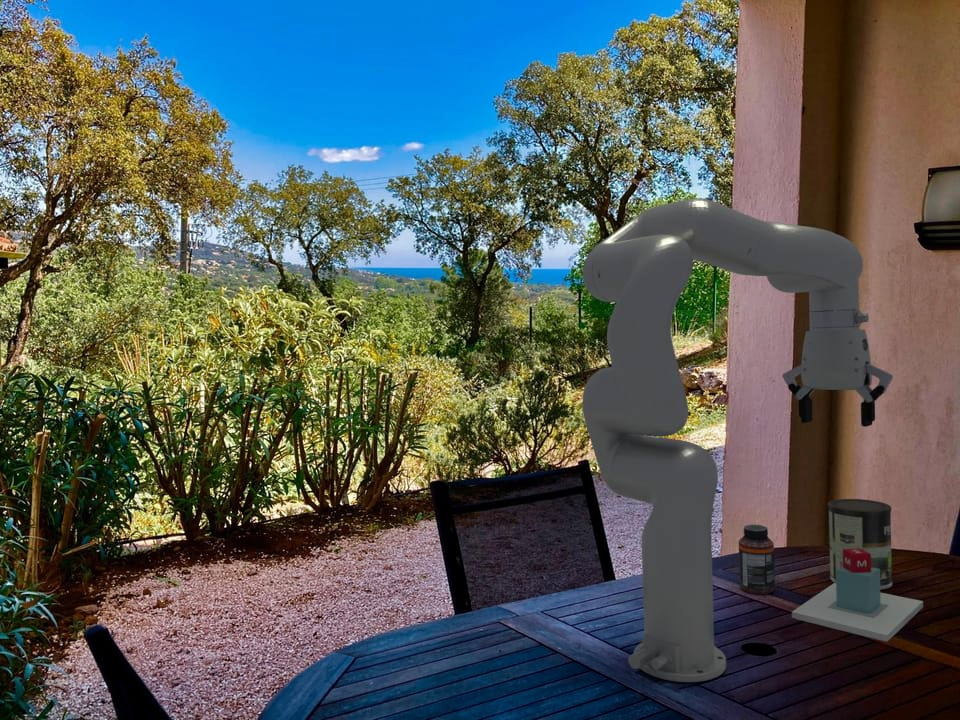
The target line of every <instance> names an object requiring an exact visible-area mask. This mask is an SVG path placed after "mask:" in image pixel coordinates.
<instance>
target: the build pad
mask: <svg viewBox="0 0 960 720" xmlns="http://www.w3.org/2000/svg"><path fill="white" fill-rule="evenodd" d="M880 601H881V605H880V606H879V607H878V608H877V609H876V610H874V611H873V612H872V613H871V614H866V613H862V612H858V611H854V610H849V609H845V608H841V607H837V598H836V583H835V582H833V583H832V584H831V585H829V586H828V587H826V588H825V589H823V590H822V591H820V592H819V593H817V594H816V595H814V596H813V597H812V598H810V599H809V600H807V601H805V602H804V603H803V604H801V605H800V606H798V607H797V608H795V609H794V610H792V611H791V618H792V619H794V618H795V619H794V620H797V621H803V622H807V623H811V624H814V625H819V626H823V627H826V628H831V629H833V630H837V631H843V632H847V633H850V634H853V635H859V636H863V637H866V638H870V639H874V640H878V641H882V642H887V643H888V642H889V640H891V639H892V637H894V636H895V635H896V634H897V633H898V632H899V631H900V630H902V628H903V627H904V626H905V625H907V624H908V623H909V621H911V619H913V618H914V617H915V616H916V615H917V614H918V613H919V612H920V611H922V609H923V608H924V601H923V600H919V599H914V598H910V597H903V596H898V595H893V594H889V593H885V592H884V593H883V592H880Z"/></svg>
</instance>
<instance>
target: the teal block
mask: <svg viewBox="0 0 960 720" xmlns="http://www.w3.org/2000/svg"><path fill="white" fill-rule="evenodd" d="M880 593H881V590H880V569H878V568H872V567H871V572H864V573H852V572H850V571H849V570H847V569H845V568H844V567H843V566H842V567H840V568H839V569H837V570H836V598H837V607H841V608H845V609H849V610H854V611H858V612H862V613H866V614H871V613H872V612H873V611H874V610H876V609H877V608H878V607H879V606H880V605H881V601H880Z"/></svg>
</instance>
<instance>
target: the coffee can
mask: <svg viewBox="0 0 960 720" xmlns="http://www.w3.org/2000/svg"><path fill="white" fill-rule="evenodd" d="M827 507H828V525H829V529H828V530H829V531H828V532H829V533H828V534H829V566H830V568H829V569H830V570H829V571H830V572H829V573H830V575H829V579H830V580H831V581H832V582H833V583H836V570H837V569H839V568H840V567H842V566H843V549H859V548H860V549H862V550H864V551H866V552H868V553H870V554H871V567H872V568H878V569H880V591H883V590H886V589H887V590H888V589H889V588H892V586H893V575H892V567H893V566H892V526H891V525H892V521H891V514H892V513H891V512H892V506H891V505H890V504H887V503H885V502H882V501H876V500H871V499H861V498H841V499H840V498H839V499H833V500H829V501H828V503H827Z"/></svg>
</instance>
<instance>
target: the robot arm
mask: <svg viewBox="0 0 960 720" xmlns="http://www.w3.org/2000/svg"><path fill="white" fill-rule="evenodd" d="M693 260H695V261H698V262H701V263H704V264H706V265H707V264H708V265H711V266H714V267H716V268H719V269H723V270H725V271H729V272H730V273H734V274H738V275H743V276H752V277H753V276H754V277H766V278H767V281H768V282H769V284H770V285H771V287H773V289H776V290H777V291H779V292H783V293H786V294H787V293H788V294H795V293H798V294H799V293H807V292H808V297H809V299H808V300H809V303H808V306H809V312H808V313H809V330H807V331H805V336H804V341H803V345H802V346H803V347H802V354H801V355H802V356H801V364H800V365H798V366H795V367H793V368H792V369H790V370H788V371H786V372H784V373H783V374H782V378H783V380H784V382H785V384H786V385H787V388H788V390H789V392H791V393H792V394H793V395H794V396H795V398H796V400H798V417H799V418H800V422H801V424H807V423H811V422H813V399H812V398H810V396H811V394H812V393H813V392H814V391H815V390H828V391H829V390H831V391H833V390H834V391H835V390H836V391H856V392H857V394H858V395H859V396H860V397H861V398H862V399H863V401H862V402H860V424H861V426H862V427H867V428H868V427H870V426H872V425H873V422H875V420H876V401H878V399H879V398H881V396H882V395H883V394H884V393H886V392H887V389H888V387H889V386H890V383H891V382H892V380H893V378H894V375H893V374H891V373H889V372H887V371H885V370H883V369H882V368H879V367H877V366H875V365H872V360H871V353H870V352H871V351H870V345H869V339H868V336H867V332H866V329H860V327H861V325H862V324H863V323H868V322H869V319H870V317H869V314H868V313H862V312H861V309H860V300H859V299H860V291H859V290H860V287H859V286H860V285H859V279H860V278H861V275H862V272H863V267H864V261H863V258H862V254H861V252H860V250H859V248H858V247H857V246H856V245H855V244H854V243H853V242H852V241H851V240H849V239H848V238H846V237H844V236H842V235H840V234H837V233H835V232H832V231H830V230H827V229H826V230H825V229H822V228H817V227H812V226H805V225H804V226H803V225H797V224H789V223H783V222H775V221H770V220H768V221H767V220H761V219H759V218H755V217H752V216H750V215H747V214H745V213H743V212H740V211H737V210H735V209H733V208H731V207H728V206H725V205H723V204H721V203H718V202H716V201H713V200H711V199H707V198H700V197H697V198H695V197H694V198H688V199H683V200H678V201H674V202H669V203H666V204H661V205H656V206H653V207H650V208H648V209H646V210H645V211H642V212H641V213H639V214H638V215H636V216H635V217H634V218H632V219H631V220H629V221H628V222H627V223H625V224H624V225H622V226H621V227H620V228H618V230H616V231H614V232H613V233H612V234H611V235H609V236H608V237H606V238H605V239H604V240H602V241H601V242H599V243H598V244H597V245H596V246H595V247H593V248H592V249H591V251H590V252H588V255H587V257H586V258H585V261H584V263H583V268H582V279H583V284H584V286H585V288H586V290H587V291H588V293H589V294H590V295H591V297H594V298H595V299H597V300H599V301H601V302H607V303H615V305H614V308H613V310H612V313H611V315H610V317H609V318H610V319H609V321H608V325H607V333H606V343H607V344H606V345H607V348H608V353H609V354H608V355H609V359H610V361H611V366H609V367H604V368H601V369H599V370H598V371H596V372H595V373H593V374H592V375H591V376H590V377H589V379H588V380H587V382H586V384H585V386H584V390H583V393H582V413H583V414H582V415H583V419H584V422H585V426H586V430H587V433H588V435H589V439H590V443H591V445H592V449H593V452H594V456H595V459H596V462H597V466H598V469H599V473H600V475H601V478H602V479H603V481H604V482H605V484H606V486H607V487H608V488H609V490H611V491H612V492H613V493H615V494H616V495H618V496H621V497H623V498H628V499H631V500H634V501H635V500H636V501H639V502H644V503H647V504H649V505H652V511H651V513H650V515H649V516H648V518H647V520H646V522H645V524H644V526H643V529H642V535H641V556H642V557H641V560H642V561H641V562H642V564H641V565H642V566H641V567H642V596H643V597H642V598H643V629H644V630H643V631H644V633H643V635H642V637H641V638H642V639H641V642H640V643H639V644H638V645H637V646H636V647H635V648H634V650H633V653H632V654H630V655H629V656H628V658H627V659H628V661H627V662H628V665H629V666H630V667H631V668H632V669H634V670H638V669H640V670H641V671H643V672H644V673H645V674H648V675H650V676H652V677H655V678H657V679H660V680H661V679H662V680H667V681H672V682H676V683H677V682H678V683H699V682H706V681H709V680H713V679H716V678H718V677H720V676H721V675H722V674H723V673H724V672H725V671H726V668H727V658H726V656H725V653H724V652H723V651H722V650H720V649H719V648H718V647H716V646H715V634H714V633H715V631H714V629H715V628H714V625H715V624H714V623H715V622H714V595H713V594H714V589H713V583H714V582H713V554H712V553H713V552H712V526H713V525H712V523H713V522H712V521H713V510H714V505H715V499H716V495H717V487H718V483H719V482H718V481H719V480H718V478H719V473H718V468H717V463H716V461H715V459H714V458H713V456H712V454H710V453H709V451H708V450H706V449H705V448H704V447H702V446H701V445H698V444H696V443H694V442H691V441H686V440H682V439H674V438H667V437H668V436H673V435H676V434H677V433H678V432H680V431H682V429H683V428H684V427H685V426H686V424H687V422H688V418H689V405H688V399H687V395H686V390H685V387H684V383H683V378H682V375H681V372H680V367H679V363H678V360H677V356H676V353H675V349H674V344H673V339H672V334H671V333H672V331H671V330H672V328H671V325H672V318H673V314H674V311H675V308H676V307H677V306H676V305H677V304H678V301H679V299H680V297H681V295H682V294H683V291H684V290H685V288H686V286H687V285H688V283H689V280H690V278H691V276H692V270H693V267H694V266H693V265H694V264H693V262H694V261H693ZM799 375H800V378H801V384H802V387H801V386H800V384H798V383H797V381H796V379H795V378H796V377H797V376H799ZM873 377H876V378H877V379H878V381H879V382H878V383H877V385H876V387H875V388H873V389H872V387H870V386H871V385H872V383H873Z"/></svg>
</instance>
